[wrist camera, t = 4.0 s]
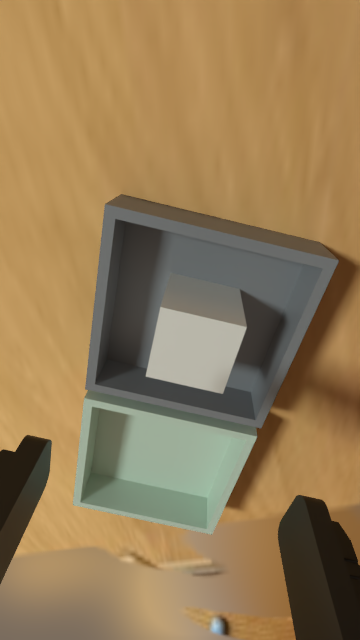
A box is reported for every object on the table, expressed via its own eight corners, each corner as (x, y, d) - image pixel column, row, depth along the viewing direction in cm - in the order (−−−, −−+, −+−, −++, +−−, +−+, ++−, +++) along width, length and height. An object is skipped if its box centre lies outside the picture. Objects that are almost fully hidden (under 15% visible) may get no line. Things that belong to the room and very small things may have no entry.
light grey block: (239, 289, 22) (247, 327, 17) (220, 346, 24) (222, 394, 19) (170, 272, 21) (160, 307, 17) (157, 332, 24) (145, 376, 19)
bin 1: (319, 242, 20) (339, 260, 17) (255, 394, 26) (261, 428, 23) (121, 194, 20) (105, 204, 17) (100, 359, 26) (85, 389, 23)
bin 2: (252, 402, 27) (257, 436, 23) (211, 496, 32) (212, 534, 29) (99, 367, 26) (84, 398, 23) (86, 469, 32) (72, 505, 29)
